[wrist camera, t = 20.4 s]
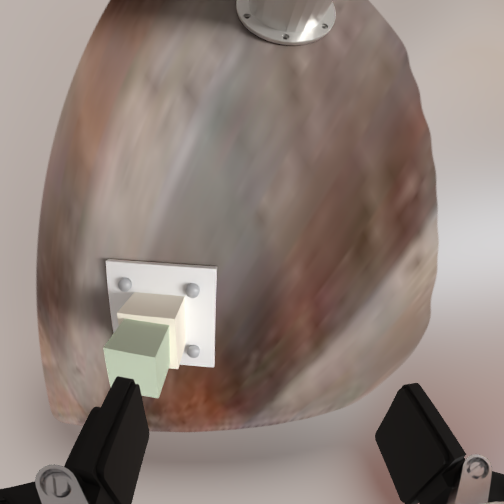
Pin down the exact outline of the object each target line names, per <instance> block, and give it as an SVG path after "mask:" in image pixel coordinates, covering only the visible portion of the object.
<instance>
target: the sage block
mask: <svg viewBox="0 0 504 504" xmlns="http://www.w3.org/2000/svg"><path fill="white" fill-rule="evenodd" d="M103 349H104V355H105V361H106V367H107V372H108V377H109V382H110V387H111V386H112V384H113V382H114V380H115V379H116V377H117V376H120V377H125V378H130V379H134V381H135V384H139V386H140V391H141V395H143V396H148V397H154V398H159V396H160V393H161V390H162V386H163V383H164V380H165V378H166V375H167V372H168V369H169V366H170V334H169V325H165V324H158V323H151V322H144V321H138V320H132V319H126V318H125V319H124V320H123V321H122V323H121V324H120V325H119V327H118V328H117V329H116V331H115V332H114V334H113V335H112V336H111V338H110V339H109V340H108V342H107V343H106V344H105V346H104V347H103Z"/></svg>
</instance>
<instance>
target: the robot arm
mask: <svg viewBox="0 0 504 504" xmlns="http://www.w3.org/2000/svg"><path fill="white" fill-rule="evenodd" d="M332 1H333V0H236V9H237V14H238V17H239V19H240V21H241V22H242V23H243V25H244V26H245V27H246V28H247V29H248V30H249V31H251V32H252V33H254V34H255V35H257V36H258V37H260V38H262V39H265V40H267V41H270V42H273V43H277V44H283V45H304V44H309V43H312V42H315V41H317V40H319V39H321V38H322V37H324V36H325V35H326V34H327V33H328V32H329V31H330V29H331V28H332V26H333V24H334V22H335V18H336V11H335V7H334V4H333V2H332ZM246 18H248V19H246ZM283 38H285V39H287V40H285V39H283ZM375 438H376V442H377V444H378V447H379V449H380V451H381V454H382V456H383V458H384V461H385V463H386V466H387V468H388V470H389V473H390V475H391V478H392V480H393V483H394V485H395V488H396V490H397V492H398V495H399V497H400V500H401V501H402V502H404V503H405V504H418V503H420V504H504V474H500V473H497V472H493V471H492V466H491V463H490V462H489V460H488V459H487V458H485V457H484V456H482V455H478V454H474V455H471V456H469V457H467V458H466V460H465V458H464V456H465V455H466V453H465V452H464V450H463V449H462V447H461V446H460V444H459V442H458V441H457V439H456V438H455V436H454V435H453V433H452V432H451V430H450V429H449V427H448V425H447V424H446V423H445V421H444V420H443V418H442V416H441V415H440V414H439V412H438V411H437V409H436V408H435V406H434V405H433V403H432V402H431V400H430V399H429V397H428V396H427V395H426V393H425V392H424V391H423V389H422V387H421V386H420V385H419V384H418V383H413V384H407V385H404V386H402V388H401V389H400V390H399V391H398V392H397V394H396V396H395V398H394V401H393V402H392V404H391V406H390V408H389V410H388V412H387V414H386V416H385V417H384V419H383V421H382V423H381V425H380V426H379V428H378V430H377V432H376V435H375ZM148 439H149V428H148V424H147V420H146V415H145V411H144V406H143V401H142V396H141V391H140V386H139V384H135V381H134V379H130V378H125V377H120V376H117V377H116V379H115V380H114V382H113V384H112V386H111V388H110V390H109V392H108V394H107V396H106V398H105V400H104V402H103V404H102V406H101V408H100V407H94V408H93V409H92V410H91V412H90V414H89V416H88V418H87V420H86V422H85V424H84V426H83V428H82V430H81V432H80V434H79V436H78V438H77V440H76V442H75V445H74V446H73V449H72V451H71V453H70V455H69V458H68V459H67V461H66V464H65V466H64V467H63V466H60V465H48V466H45V467H44V468H42V469H41V470H39V472H38V473H37V475H36V479H35V482H31V483H27V484H23V485H19V486H14V487H10V488H5V489H0V504H131V503H132V499H133V495H134V491H135V487H136V483H137V480H138V475H139V472H140V468H141V464H142V461H143V457H144V453H145V449H146V446H147V443H148Z"/></svg>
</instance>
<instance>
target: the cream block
mask: <svg viewBox="0 0 504 504" xmlns="http://www.w3.org/2000/svg"><path fill="white" fill-rule="evenodd" d="M117 317H118V325H120V324H121V323H122V321H123V320H124V319H125V318H126V319H132V320H138V321H144V322H151V323H158V324H165V325H169V334H170V366H169V368H172V369H178V368H179V365H180V361H181V358H182V355H183V351H184V348H185V345H186V322H185V296H174V295H162V294H150V293H139V292H134V293H133V294H132V296H131V297H130V298H129V299H128V300H127V301H126V303H125V304H124V305H123V306H122V307H121V309H120V310H119V311H118V312H117Z"/></svg>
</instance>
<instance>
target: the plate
mask: <svg viewBox="0 0 504 504" xmlns="http://www.w3.org/2000/svg"><path fill="white" fill-rule="evenodd" d="M106 273H107V284H108V295H109V304H110V312H111V319H112V326H113V333H114V332H115V331H116V329H117V328H118V327H119V325H118V317H117V312H118V311H119V310H120V309H121V307H122V306H123V305H124V304H125V303H126V301H127V300H128V299H129V298H130V297H131V296H132V294H133V293H134V292H139V293H150V294H162V295H174V296H185V322H186V345H185V348H184V351H183V355H182V358H181V361H180V364H181V365H191V366H203V367H214V365H215V317H216V284H217V266H201V265H186V264H171V263H157V262H143V261H130V260H117V259H108V260H106Z"/></svg>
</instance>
